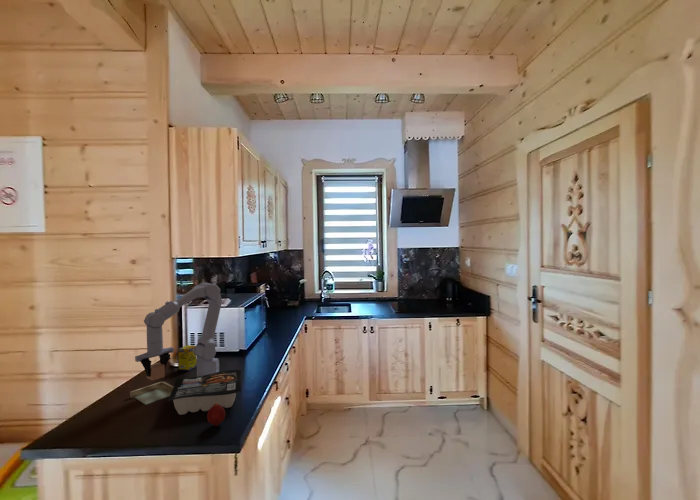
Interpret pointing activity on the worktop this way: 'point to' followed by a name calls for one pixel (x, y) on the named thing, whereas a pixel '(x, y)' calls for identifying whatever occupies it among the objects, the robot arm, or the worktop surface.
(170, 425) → the worktop surface
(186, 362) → the supplement box
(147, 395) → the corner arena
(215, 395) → the food packaging
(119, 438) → the worktop surface
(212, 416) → the onion
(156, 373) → the terracotta cube
